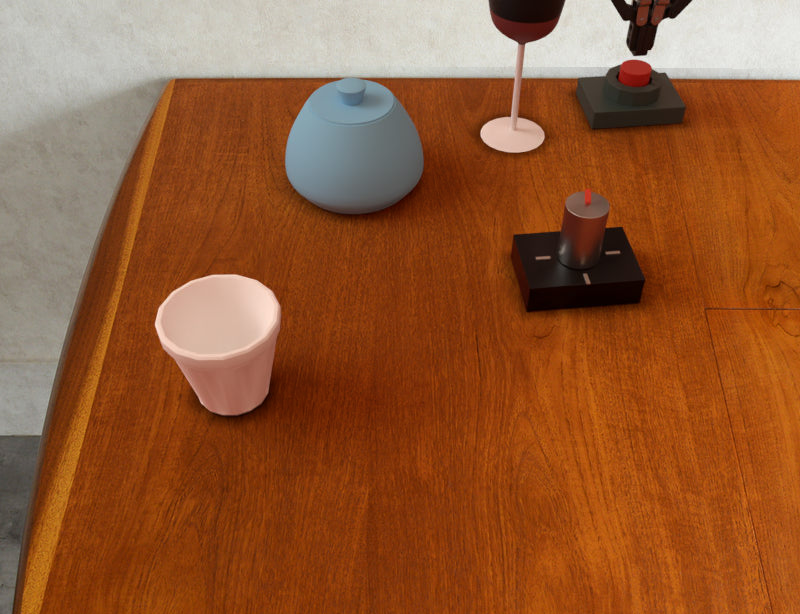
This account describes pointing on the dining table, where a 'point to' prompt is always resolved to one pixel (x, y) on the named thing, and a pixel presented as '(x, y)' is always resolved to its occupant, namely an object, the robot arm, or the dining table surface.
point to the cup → (222, 339)
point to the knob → (582, 229)
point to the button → (635, 73)
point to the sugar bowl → (353, 148)
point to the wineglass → (520, 67)
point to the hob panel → (575, 273)
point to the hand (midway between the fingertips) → (638, 52)
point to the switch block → (629, 101)
